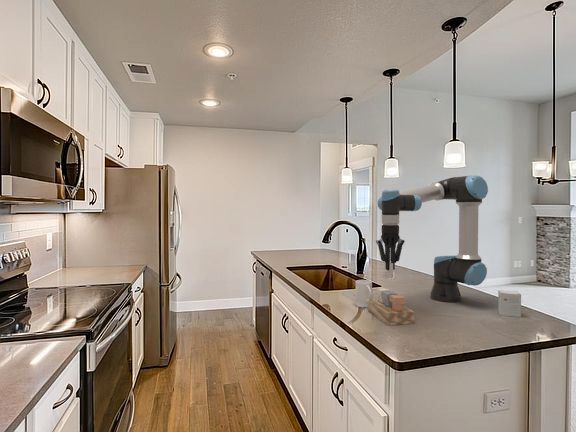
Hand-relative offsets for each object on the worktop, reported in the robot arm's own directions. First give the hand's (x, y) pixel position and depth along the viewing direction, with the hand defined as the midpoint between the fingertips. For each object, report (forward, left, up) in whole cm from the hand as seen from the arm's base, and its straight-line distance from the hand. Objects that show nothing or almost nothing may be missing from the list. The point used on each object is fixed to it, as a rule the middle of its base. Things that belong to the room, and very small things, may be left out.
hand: (390, 277), depth 157 cm
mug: (+4, -19, -18) cm, 27 cm away
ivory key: (0, -7, -14) cm, 15 cm away
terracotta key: (0, +6, -14) cm, 15 cm away
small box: (-55, +7, -18) cm, 58 cm away
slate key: (0, 0, -14) cm, 14 cm away
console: (0, 0, -18) cm, 18 cm away
